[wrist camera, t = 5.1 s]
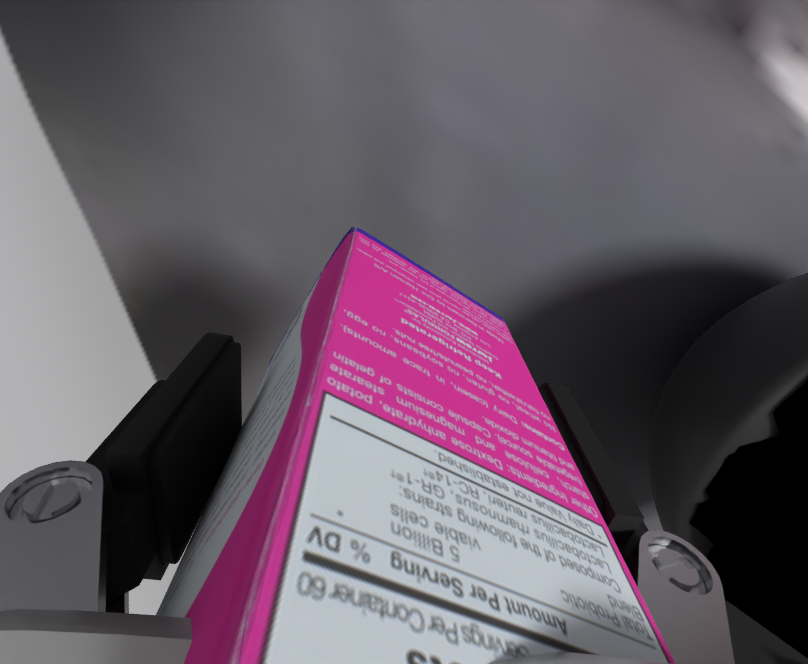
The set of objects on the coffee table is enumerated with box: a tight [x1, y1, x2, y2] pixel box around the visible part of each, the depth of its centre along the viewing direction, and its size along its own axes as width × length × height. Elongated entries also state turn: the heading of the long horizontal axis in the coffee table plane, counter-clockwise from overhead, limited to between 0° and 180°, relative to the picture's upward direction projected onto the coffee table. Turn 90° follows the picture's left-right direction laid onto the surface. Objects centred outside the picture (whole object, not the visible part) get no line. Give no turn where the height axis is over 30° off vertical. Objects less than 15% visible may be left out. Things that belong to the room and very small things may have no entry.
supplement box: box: [156, 227, 676, 664], centre depth 9 cm, size 6×6×12 cm
